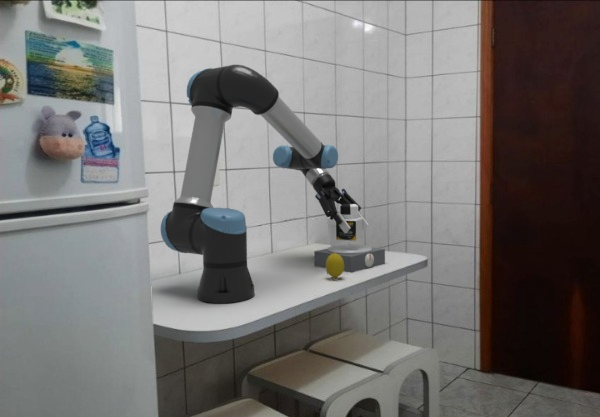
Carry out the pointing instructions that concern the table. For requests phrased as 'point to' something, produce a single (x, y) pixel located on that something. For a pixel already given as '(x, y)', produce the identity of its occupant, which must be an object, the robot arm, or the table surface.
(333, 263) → the lemon
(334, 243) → the clear plastic beaker
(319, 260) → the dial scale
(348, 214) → the medicine bottle
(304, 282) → the table surface
